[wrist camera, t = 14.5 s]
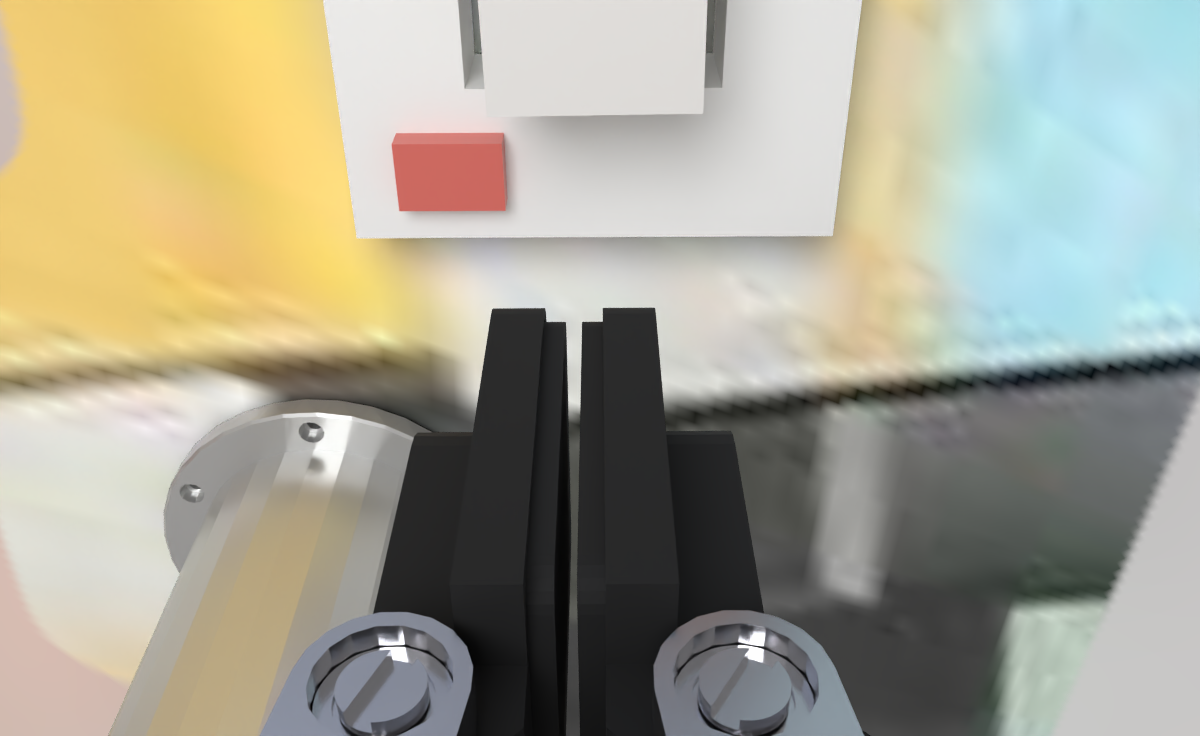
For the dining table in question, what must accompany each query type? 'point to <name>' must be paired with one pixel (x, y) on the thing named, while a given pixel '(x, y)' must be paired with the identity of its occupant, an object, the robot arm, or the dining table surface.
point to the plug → (593, 57)
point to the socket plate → (593, 133)
